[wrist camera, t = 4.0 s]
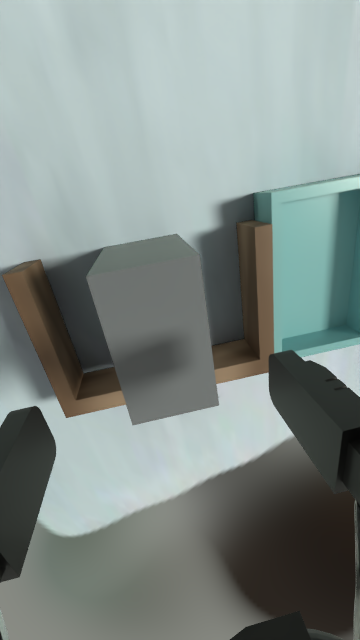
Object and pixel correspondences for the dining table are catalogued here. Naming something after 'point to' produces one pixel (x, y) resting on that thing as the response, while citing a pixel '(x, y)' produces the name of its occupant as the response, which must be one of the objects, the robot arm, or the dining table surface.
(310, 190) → the teal tray
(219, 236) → the dining table surface
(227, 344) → the walnut bay
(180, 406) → the chamfered grey block
